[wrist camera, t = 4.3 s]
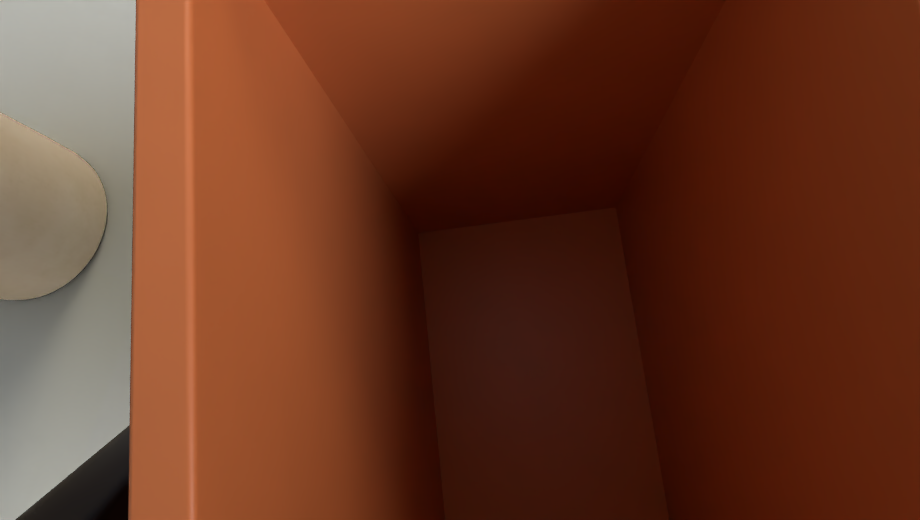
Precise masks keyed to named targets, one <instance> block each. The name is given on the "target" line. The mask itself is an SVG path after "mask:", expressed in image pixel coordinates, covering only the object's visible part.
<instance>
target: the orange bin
mask: <svg viewBox="0 0 920 520" xmlns="http://www.w3.org/2000/svg"><path fill="white" fill-rule="evenodd" d="M128 520H920V0H136V41H135V107H134V174H133V240H132V306H131V373H130V439H129V506H128Z"/></svg>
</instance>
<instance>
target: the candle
mask: <svg viewBox="0 0 920 520" xmlns="http://www.w3.org/2000/svg"><path fill="white" fill-rule="evenodd" d="M106 217H107V202H106V195H105V191H104V188H103V185H102V183H101V180H100V178H99V176H98V175H97V173H96V172H95V170H94V169H93V168H92V167H91V166H90V165H89V164H88V163H87V162H86V161H85V160H84V159H82V158H81V157H80V156H79V155H77V154H76V153H75V152H73V151H71V150H69V149H68V148H66V147H64V146H62V145H60V144H59V143H57V142H55V141H53V140H52V139H50V138H48V137H46V136H44V135H42V134H40V133H38V132H37V131H35V130H33V129H31V128H29V127H27V126H25V125H23V124H21V123H20V122H18V121H16V120H14V119H12V118H10V117H8V116H6V115H4V114H3V113H1V112H0V299H3V300H27V299H33V298H38V297H41V296H44V295H47V294H49V293H51V292H54V291H56V290H58V289H59V288H61V287H63V286H64V285H66V284H67V283H68V282H70V281H71V280H72V279H74V278H75V277H76V276H77V275H78V274H79V273H80V272H81V271H82V270H83V269H84V267H85V266H86V265H87V264H88V263H89V261H90V260H91V258H92V257H93V255H94V254H95V252H96V250H97V248H98V246H99V244H100V241H101V239H102V236H103V233H104V229H105V225H106Z"/></svg>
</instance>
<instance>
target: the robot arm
mask: <svg viewBox="0 0 920 520" xmlns="http://www.w3.org/2000/svg"><path fill="white" fill-rule="evenodd" d="M129 439H130V425H129V426H128V427H127V428H126V429H124V430H123V431H122V432H121V433H120V434H118V435H117V436H116V437H115V438H114V439H112V440H111V441H110V442H109V443H108V444H106V445H105V446H104V447H103V448H102V449H100V450H99V451H98V452H97V453H96V454H94V455H93V456H92V457H91V458H89V459H88V460H87V461H86V462H85V463H83V464H82V465H81V466H80V467H79V468H77V469H76V470H75V471H74V472H73V473H71V474H70V475H69V476H68V477H66V478H65V479H64V480H63V481H62V482H60V483H59V484H58V485H57V486H56V487H54V488H53V489H52V490H51V491H50V492H48V493H47V494H46V495H45V496H44V497H42V498H41V499H40V500H39V501H37V502H36V503H35V504H34V505H33V506H31V507H30V508H29V509H28V510H27V511H25V512H24V513H23V514H22V515H21V516H19V517H18V518H17V519H16V520H128V506H129Z"/></svg>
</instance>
